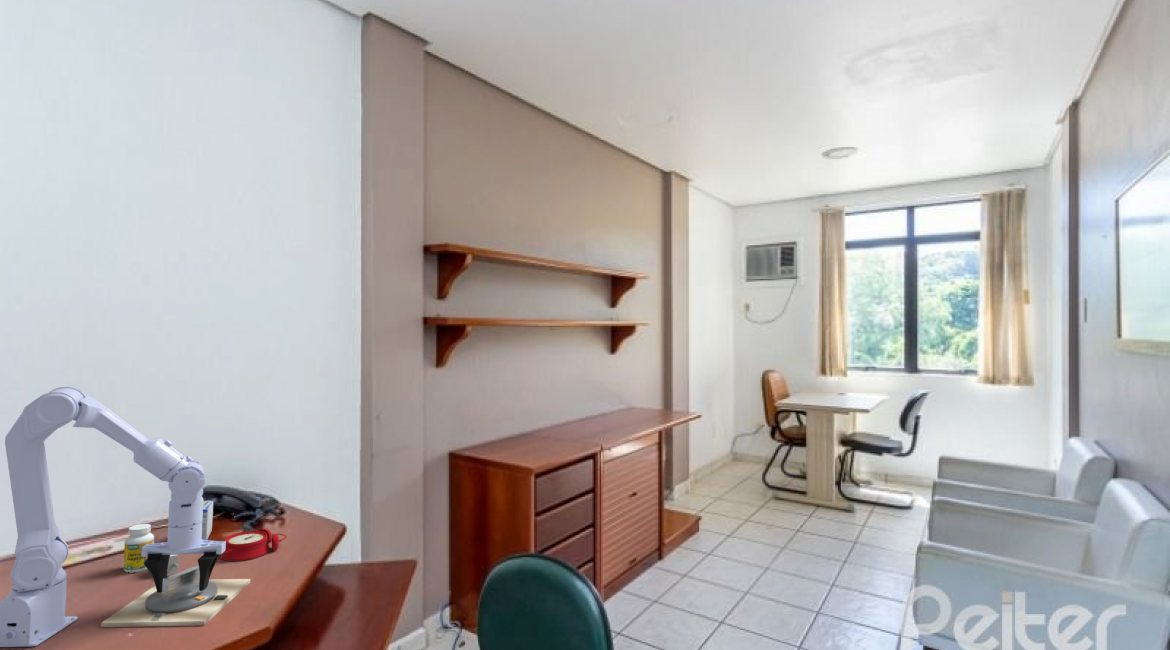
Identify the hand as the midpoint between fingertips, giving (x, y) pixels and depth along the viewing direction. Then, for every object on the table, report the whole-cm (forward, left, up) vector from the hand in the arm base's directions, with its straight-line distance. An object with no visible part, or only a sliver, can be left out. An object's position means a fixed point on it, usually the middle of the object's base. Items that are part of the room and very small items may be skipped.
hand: (182, 589), depth 115 cm
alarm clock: (+27, -1, -3) cm, 27 cm away
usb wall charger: (+14, +11, -3) cm, 18 cm away
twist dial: (0, 0, -3) cm, 3 cm away
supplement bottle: (+17, +19, -3) cm, 26 cm away
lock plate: (0, 0, -3) cm, 3 cm away
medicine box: (+36, +16, -3) cm, 40 cm away
